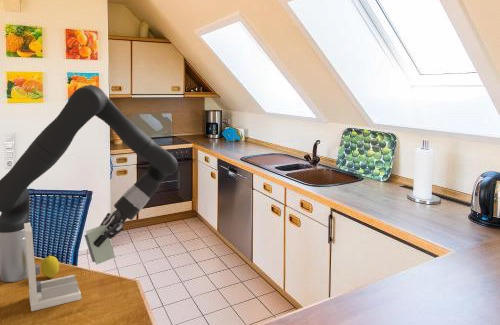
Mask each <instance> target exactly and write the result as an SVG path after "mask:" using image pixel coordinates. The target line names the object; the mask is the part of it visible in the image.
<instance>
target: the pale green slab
mask: <svg viewBox="0 0 500 325" xmlns="http://www.w3.org/2000/svg"><path fill="white" fill-rule="evenodd" d="M105 229H106V225H102V226H100V225H99V226H96V227H94V228H91V229H87V230H85V235H84V239H85V242H86V245H87V249H88V252H89V255H90V258H91V262H93V263H94V264H95V265H99V264H102V263H104V262H107V261H110V260H112V259H114V258H116V256H115V252H114V249H113V245H112V241H111V239H109V238H108V239H106V240H105V241H104V242H103V243H102V244H101V246H100V247H96V246H95V245H94V244H93V243H94V242H95V240H96V239H97V238H98V237H99V236H100V235H102V232H103V231H104V230H105Z"/></svg>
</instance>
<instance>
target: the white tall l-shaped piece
mask: <svg viewBox="0 0 500 325" xmlns="http://www.w3.org/2000/svg"><path fill="white" fill-rule="evenodd" d="M24 229H25V242H26V254H27V266H28V278H27V279H28V288H29V291H28V298H29V305H30V311H31V312H35V311H38V310H43V309H46V308H51V307H55V306H58V305H59V306H60V305H63V304H67V303H72V302H76V301H80V300H82V292H81V290H80V288H79V282H78V280H76V274H71V275H67V276H62V277H58V278H57V277H56V278H50V279H48V280H38V281H37V276H39V275H41V266H40V264H39V263H37V264H36V263H35V261H36V260H35V251H34V250H35V249H34V238H33V237H34V235H33V228H32V225H31V222H28V223H24Z"/></svg>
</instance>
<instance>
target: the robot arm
mask: <svg viewBox="0 0 500 325" xmlns="http://www.w3.org/2000/svg"><path fill="white" fill-rule="evenodd" d="M106 94H107V93H105V92H104V91H103V90H102V89H101V88H100V87H99V86H96V85H92V84H89V85H88V84H87V85H84V86H81V87H79V88H77V89H75V91H73V93H72V94H71V96H70V97H69V99H68V101H67V102H66V104H65V105H64V107H63V108H62V109H61V110H60V112H59V113H58V115H57V116H56V117H55V118H54V119H53V120H52V121H51V122H50V123H49V124H48V125H47V126H46V127H45V128H43V130H42V131H41V132H40V133H39V134H38V135H37V137H35V139H34V140H33V141H32V142H31V143H30V144H29V146H28V147H27V149H26V150H25V151H24V152H23V153H22V155H21V156H20V157H18V158H19V159H18V160H17V161H16V162H15V164H14V165H12V166H13V167H11V169H10V170H9V171H8V172H7V173H6V174H5V175H4V176H2V177H1V179H0V281H2V282H5V283H12V282H13V283H15V282H19V281H23V280H25V279H29V278H28V266H27V254H26V242H25V229H24V223H29V220H30V215H31V210H30V207H31V206H30V194H29V193H30V192H29V189H28V188H29V186H30V185H31V184H32V183H33V182H34V181H36V180H38V178H40V177H41V176H43V175H44V174H45V173H46V172H48V171H49V170H50V169H51V168H53V166H54V165H55V164H56V163H57V162H58V161H59V160H60V158H61V157H62V156H63V155H64V154H65V152H66V151H67V150H68V148H69V147H70V146H71V143H72V142H73V140H74V138H75V136H76V135H77V134H78V132H79V131H80V130H81V129H82V128H83V127H84V126H85V125H86V124H87V123H88V122H89V121H90V120H91V119H93V117H96V118H98V119H100V120H101V121H103V123H105V124H106V125H107V126H109V127H110V128H111V129H112V130H113V132H114V133H115V135H117V136H118V138H119V139H120V140H121V142H122V143H124V144H125V145H126V147H128V148H129V149H130V150H131V151H132V152H133V153H134V154H136V155H137V156H138V157H139V158H141V159H142V160H145V161H147V162H148V164H150V165H149V167H147V170H146V171H145V172H144V173H143V174H142V175H141V176H140V177H139V178H138V179H137V180H136V182H134V183H133V185H131V187H129V188H128V189H127V190H126V191H125V192H124V193H123V195H122V196H121V197H120V198H119V199H118V200H116V202H115V203H114V204H113V207H114V209H115V211H112V212H111V213H110V212H108V213H107V214H106V215H105V217H104V218H103V220H102V221H101V223H100V225H99V226H102V225H106V229H105V230H104V231H103V232H102V235H100V236H99V237H98V238H97V239H96V240H95V242H94V243H93V244H94V245H95V246H96V247H100V246H101V244H102V243H103V242H104V241H105V240H106V239H108V238H109V239H110V240H112V239H113V238H115V236H116V235H118V234H120V233H121V232H122V231H124V228H125V227H124V226H123V225H124V223H125V222H126V220H127V219H128V220H131V221H132V220H133V219H134V218H135V217H136V216H137V215H138V214H139V212H140V211H141V210H143V208H144V207H145V206H146V205H147V203H148V202H149V200H150V199H151V198H152V197H153V196H154V195H155V194H156V192H157V191H158V190H159V188H160V186H161V184H162V183H163V182H164V180H166V178H167V177H168V176H172V175H174V174H175V173H176V171H177V170H178V168H179V163H178V160H177V158H176V157H175V156H174V155H173V154H172V153H170V152H169V151H168V150H166V149H165V148H163V147H162V146H160V145H159V144H157V143H156V142H155V140H153V139H152V138H151V137H150V136H149V135H148V134H146V133H145V132H144V131H143V130H142V129H140V128H139V126H137V125H136V124H135V123H134V122H133V121H131V120H130V119H129V118H128V117H127V116H126V115H125V114H124V113H123V112H122V111H121V110H120V109H119V108H118V107H117V106H116V105H115V103H114V102H113V101H112V100H111V99H110V98H109V96H107V95H106Z"/></svg>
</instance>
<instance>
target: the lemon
mask: <svg viewBox="0 0 500 325" xmlns="http://www.w3.org/2000/svg"><path fill="white" fill-rule="evenodd" d="M59 270H60V263H59V260H58V258H57V257H55V256H53V255H48V256H46V257H44V258H43V259H42V261H41V263H40V272H41V274H42V275H43V276H45V277H47V278H50V279H53V277H55V276H56V275H57V274H58V272H59Z"/></svg>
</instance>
